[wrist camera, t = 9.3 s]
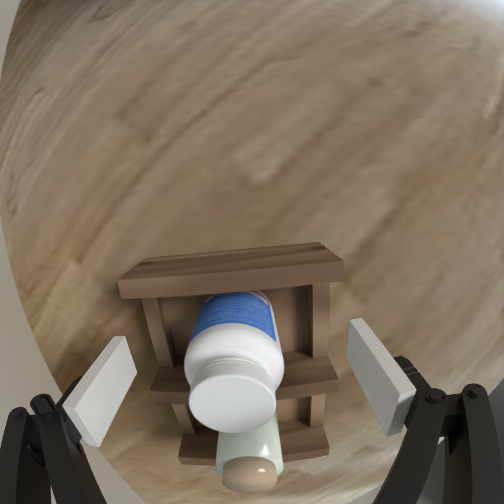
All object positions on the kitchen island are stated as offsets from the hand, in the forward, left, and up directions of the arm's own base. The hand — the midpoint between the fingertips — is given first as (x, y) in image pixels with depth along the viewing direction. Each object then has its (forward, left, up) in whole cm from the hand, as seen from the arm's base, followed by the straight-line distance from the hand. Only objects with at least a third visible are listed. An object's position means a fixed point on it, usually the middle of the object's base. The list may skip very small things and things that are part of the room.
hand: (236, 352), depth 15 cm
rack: (+5, 0, -7) cm, 8 cm away
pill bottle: (0, 0, -6) cm, 6 cm away
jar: (+9, 0, -6) cm, 10 cm away
